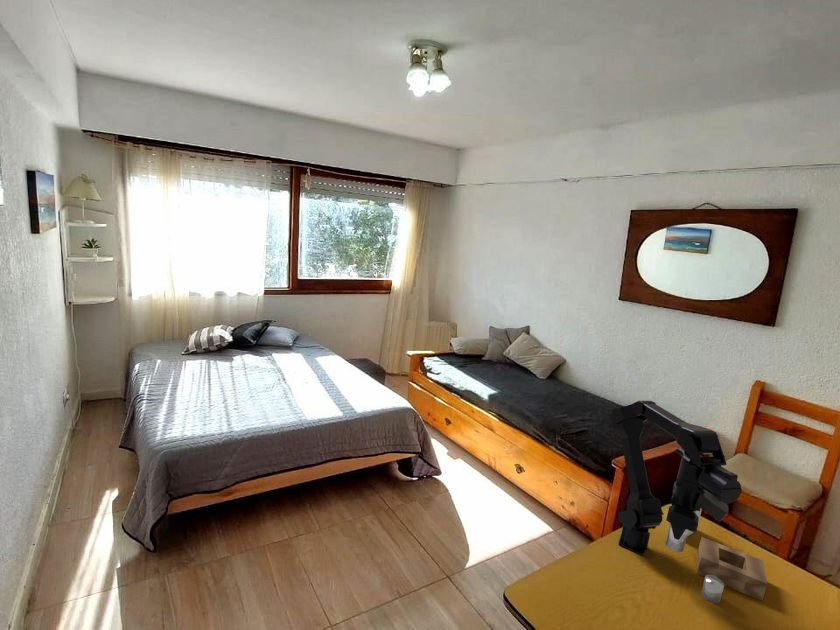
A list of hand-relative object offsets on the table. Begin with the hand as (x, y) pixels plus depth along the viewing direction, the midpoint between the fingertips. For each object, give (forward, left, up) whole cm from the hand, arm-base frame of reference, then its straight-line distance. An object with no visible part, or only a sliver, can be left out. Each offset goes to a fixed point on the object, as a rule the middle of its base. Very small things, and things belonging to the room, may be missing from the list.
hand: (677, 534), depth 113 cm
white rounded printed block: (+3, +26, -13) cm, 29 cm away
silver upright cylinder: (0, 0, -3) cm, 3 cm away
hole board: (+14, +13, -13) cm, 23 cm away
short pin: (+10, +1, -13) cm, 16 cm away
